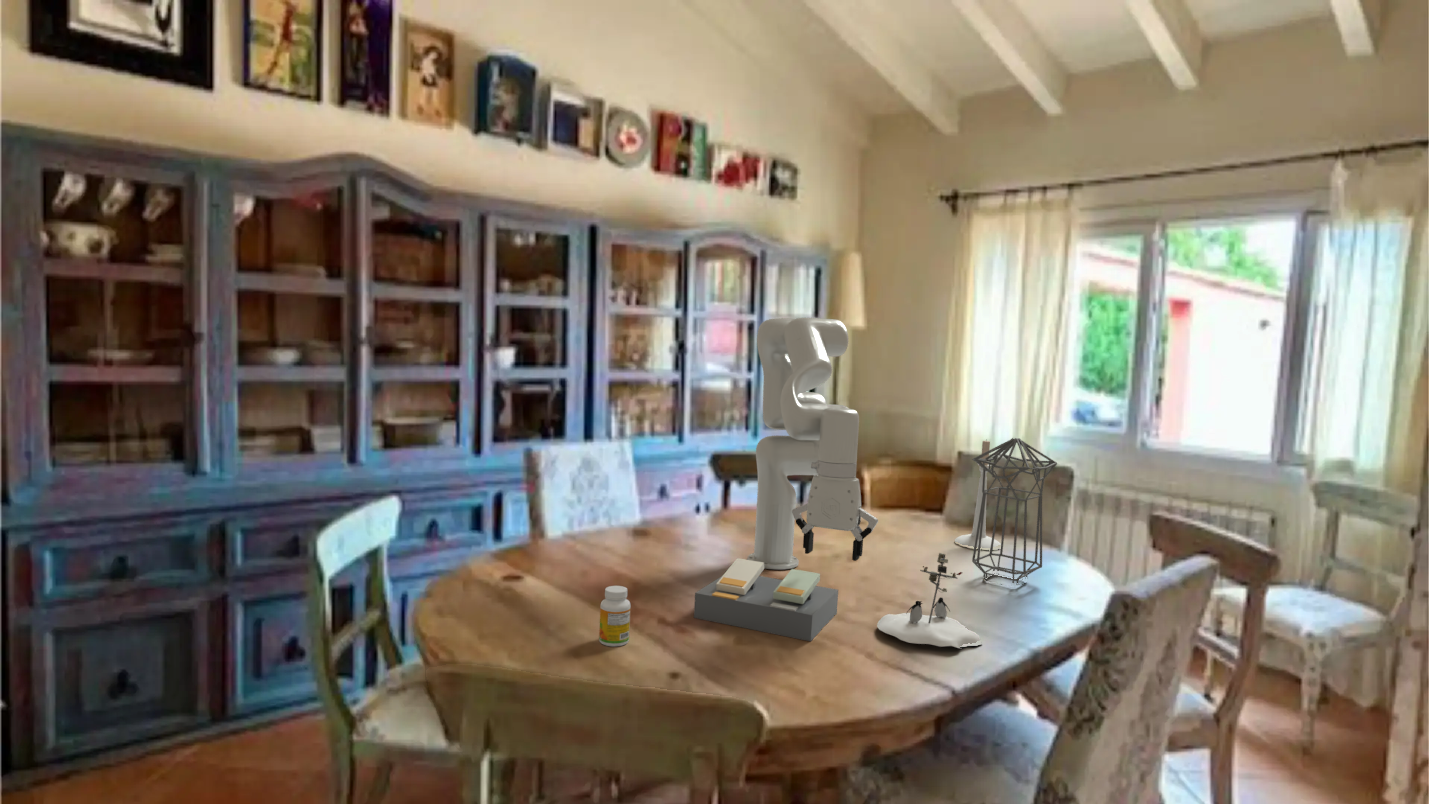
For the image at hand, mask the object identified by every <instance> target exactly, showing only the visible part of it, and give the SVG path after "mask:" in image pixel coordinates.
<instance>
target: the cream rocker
mask: <svg viewBox="0 0 1429 804" xmlns="http://www.w3.org/2000/svg"><path fill="white" fill-rule="evenodd" d="M764 569H765V568H764V563H763V562H757V561H751V560H747V559H745V558H739V557H737V558H736V559H735V560H734V562H733V563H732V564H731V565H730V566H729V567H728V569H727V570H726V572H725V573H724V574H723V575H721V576H722V577H721V576H720V577H721V579H720V580H719V581H718V582H717V583H716V588H717V590H720V591H725V592H731V593H736V594H741V595H745V594H746V593H747V591H748V590H749V589H750V587H751V586H752V584H753V583H754V582H755V580H756V579H757V578H758V576H761V574H762V573H763V571H764Z"/></svg>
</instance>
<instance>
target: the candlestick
mask: <svg viewBox="0 0 1429 804" xmlns="http://www.w3.org/2000/svg"><path fill="white" fill-rule="evenodd" d="M990 446H991V441H990V440H987V439H986V440H982V444H981V454H983V453H985V452H987V451H989V450H990V449H991V448H990ZM988 456H990V453H989V454H987V455H985V456H984V457H982V458H980V459H985V458H987V457H988ZM981 463H983V462H981ZM977 465H978V467H979V469H978V470H979V473H980V476H979V480H978V488H977V494H976V503H975V510H974V517H973V524H972V530H971V533H969V534H962V535H959V536H957V537H956V538H954V540H955V542H958V543H960V544H962V545H968V546H973V547H974V546H975V539H976V533H977V527H978V521H979V515H980V509H981V503H982V496H983V493H982V486H983V468H982V467H981V466H980V465H979V464H978V463H977ZM985 466H986V467H987V468H989V464H987V463H985ZM990 467H992V465H990ZM988 473H989V472H988V471H985V487H984V490H987V489H988V488H987V486H988V477H987V474H988ZM986 492H987V491H986ZM987 495H988V494H986V496H987ZM986 519H987V499H986V500H985V510H984V519H983V529H982V538H981V547H982V548H991V541H992V536H988V535H987V534H986V533H987V532H986V530H987V529H986V525H987V523H986V522H987V521H986ZM980 525H981V523H980ZM979 535H980V529H979ZM978 545H979V536H978V542H977V547H978ZM998 545H1001V542H1000V541H998V540H997V539H995V538H994V543H993V547H996V546H998Z"/></svg>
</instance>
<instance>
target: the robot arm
mask: <svg viewBox="0 0 1429 804" xmlns="http://www.w3.org/2000/svg"><path fill="white" fill-rule="evenodd" d="M756 336H757V338H756V345H757V346H756V347H757V352H758V356H759V360H760V363H761V367H762V372H763V373H762V374H763V375H762V376H763V381H762V383H763V389H762V392H763V394H762V395H763V396H762V399H763V400H762V417H763V423H764V425H765V426H766V427H767V428H769V429H772V430H778V431H785V432H786V433H787V434H788V435H769V436H768V435H767V436H765V437H763V438H760V440H759V441H758V442H757V444H756V448H755V460H756V470H757V471H756V472H757V492H756V493H757V497H756V513H755V516H756V517H755V529H754V530H755V532H754V546H753V547H754V549H753V551H754V552H753V553H750V554H748V555H747V559H746V560H751V561H757V562H763V563H764V569H766V570H767V569H768V570H779V571H782V570H791V569H795V568H796V567H798V566H799V562H800V561H799V559H798V558H797V557H796V556H794V554H793V553H794V546H795V544H794V539H795V537H794V536H795V524H796V525H797V526H798V527H799V529H801V533H802V534H803V540H802V541H803V542H802V548H803V549H804V554H810V553H812V552H813V551H814V535H815V533H814V531H813V529H814V528H821V529H830V530H837V531H845V532H850V533H852V535H853V536H854V540H853V542H852V555H851V556H852V559H851V560H852V561H853V562H857V561H858V560H859V559H860V557H862V556H863V548H864V547H863V546H864V539H866V537H867V536H869V535H870V534H871V533H872V532H873V531H874V529H875V527H876V526H877V524H878V523H879V519H878V518H877V517H875V516H874V515H873V514H871V513H869V512H868V511H866V510H865V509H863V508H862V495H861V492H862V491H861V485H860V479H859V478H857V466H858V463H857V461H858V447H859V445H858V443H859V428H860V415H859V412H858V411H857V410H856V409H853V408H849V407H847V406H846V405H843V404H830V403H829V404H828V403H827V401H826V398H825V397H824V396H823V395H822V394H820V393H818V392H813V391H812V392H811V390H814V389H815V388H818V387H820V386H822V385H823V384H825V383H827V381H828V380H829V379H830V378H831V376H832V372H833V366H832V363H831V360H830V357H840V356H843V355H844V354H845V353H846V351H847V349H848V347H849V332H848V330H847V327H846V325H845V324H844V323H843V321H841V320H839V319H835V318H834V319H832V318H819V317H817V318H816V317H798V318H783V317H782V318H779V317H777V318H776V317H775V318H769V319H766V320H764V321H762V322H761V323H760V325H759V326H758V330H757V335H756ZM809 391H810V392H809ZM788 476H813V477H812V479H811V483H810V484H811V485H810V488H809V494H808V499H807V503H805V504H802V505H800V506H798V507H797V505H796V504H797V503H796V502H797V492H796V490H795V488H794V485H793V484H792V483H791V482H790V480H789V479H788ZM804 512H806V520H805V519H804V518H803V516H802V513H804ZM862 519H863V520H865V521H866V522H867V523H868V524H867V526H866V527H865V529H862V528H861V521H862Z"/></svg>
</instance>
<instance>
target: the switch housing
mask: <svg viewBox="0 0 1429 804" xmlns="http://www.w3.org/2000/svg"><path fill="white" fill-rule="evenodd" d="M722 576H723V575H721V576H719V577H718V578H717V579H715V580H713V581H711V583H709V584H707V585H706V586H704V587H702V588H701V589H699V590H697V591H696V592H695V593H694V606H693V607H694V608H693V609H694V610H693V618H694V619H698V620H704V621H708V622H713V623H718V624H723V625H728V626H733V627H737V628H743V629H747V630H752V631H753V630H754V631H758V632H762V633H768V634H774V635H778V636H783V637H788V638H793V639H797V640H802V641H808V642H812V641H813V639H815V637H816V636H817V635H818V634H819V633H820V632H821V631H822V630H823V629H824V628H825V627H826V626H827V625H828V623H830V621H831V620H832V619H833V618H835V616H836V615H837V613H838V603H839V602H838V601H839V600H838V599H839V589H836V588H832V587H824V586H819V585H816V586H815V588H814V589H813V591H812V592H811V594H810V595H809V596H808V598H807V599H806V601H805V602H804V603H803V604H800V603H794V602H789V601H784V600H778V599H773V592H774V591H775V589H776V588H777V587H778V586H779V584H780V583H781V582H782V581H783V579H779V578H774V577H767V576H763V575H759V576H758V578H757V579H756V580H755V582H754V583H753V584H752V586H751V587H750V589H749V590H748V591H747V593H746V594H745V595H741V594H736V593H731V592H725V591H720V590H717V588H716V583H717V582H718V581H719V580H720V579H721V577H722ZM834 615H835V616H834ZM829 620H830V621H829ZM826 624H827V625H826ZM825 625H826V626H825ZM824 626H825V627H824ZM823 627H824V628H823ZM822 628H823V629H822ZM821 629H822V630H821Z"/></svg>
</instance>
